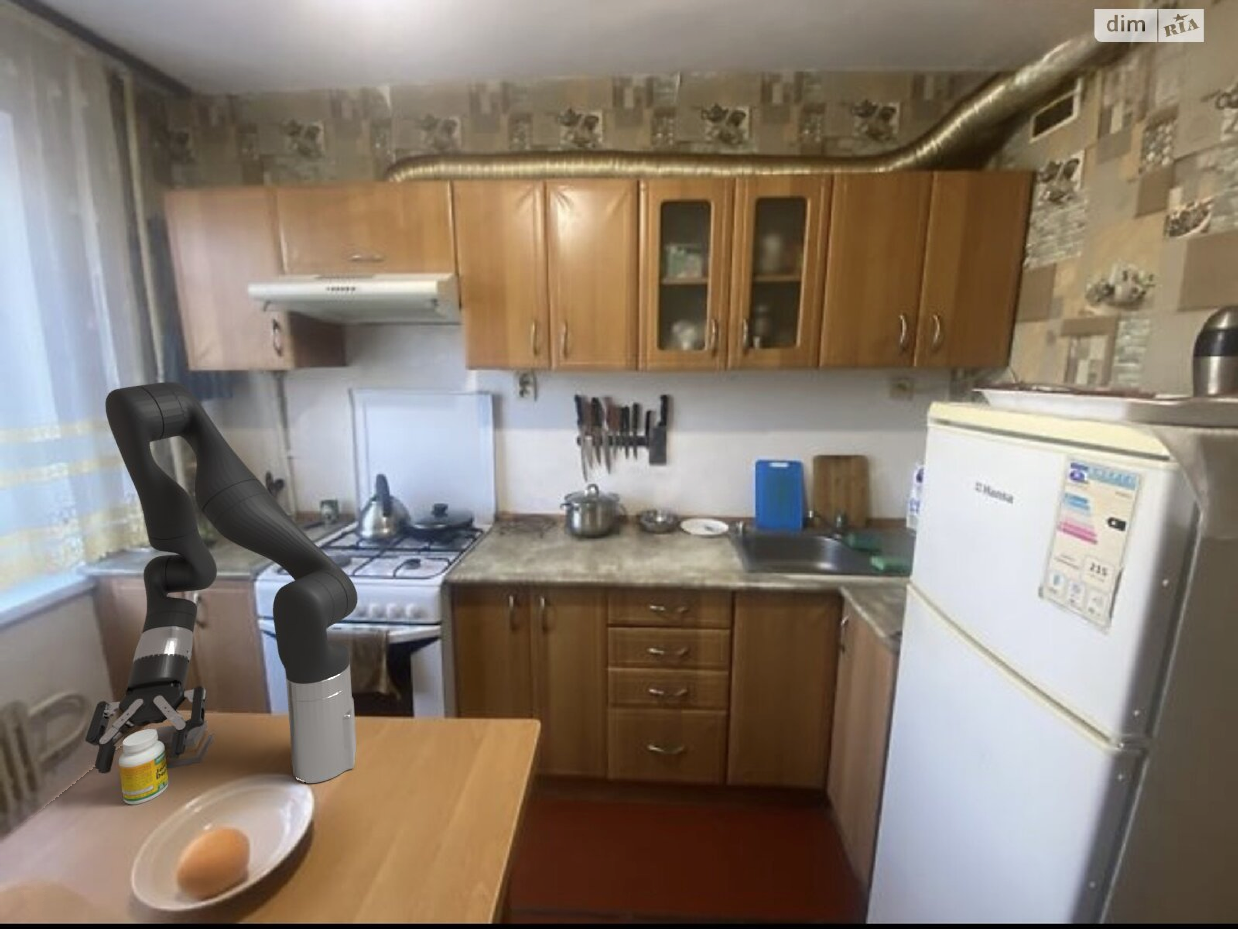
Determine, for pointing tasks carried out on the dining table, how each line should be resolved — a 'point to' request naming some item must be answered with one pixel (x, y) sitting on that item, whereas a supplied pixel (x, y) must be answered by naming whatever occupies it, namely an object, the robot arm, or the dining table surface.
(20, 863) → the dining table surface
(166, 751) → the offcut stack
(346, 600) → the robot arm
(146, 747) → the supplement bottle
